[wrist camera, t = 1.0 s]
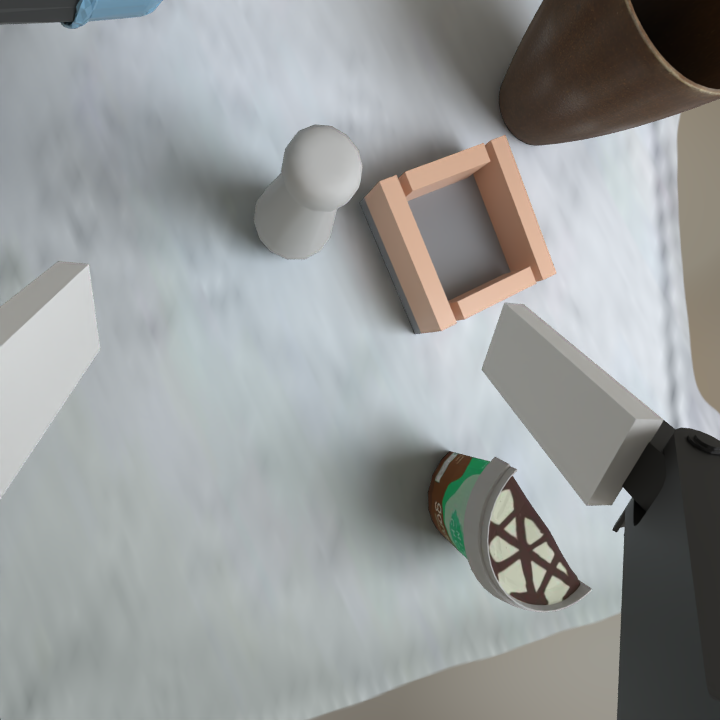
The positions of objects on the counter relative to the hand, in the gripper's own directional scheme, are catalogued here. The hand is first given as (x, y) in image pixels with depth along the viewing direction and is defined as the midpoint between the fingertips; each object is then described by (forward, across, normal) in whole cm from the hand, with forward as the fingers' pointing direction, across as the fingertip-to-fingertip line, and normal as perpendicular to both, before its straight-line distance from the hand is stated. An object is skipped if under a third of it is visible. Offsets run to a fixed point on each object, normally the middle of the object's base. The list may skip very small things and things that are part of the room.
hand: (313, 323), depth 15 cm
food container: (+12, +16, -24) cm, 31 cm away
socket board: (+24, +14, -3) cm, 28 cm away
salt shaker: (+23, 0, -3) cm, 23 cm away
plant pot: (+32, +23, +9) cm, 40 cm away
